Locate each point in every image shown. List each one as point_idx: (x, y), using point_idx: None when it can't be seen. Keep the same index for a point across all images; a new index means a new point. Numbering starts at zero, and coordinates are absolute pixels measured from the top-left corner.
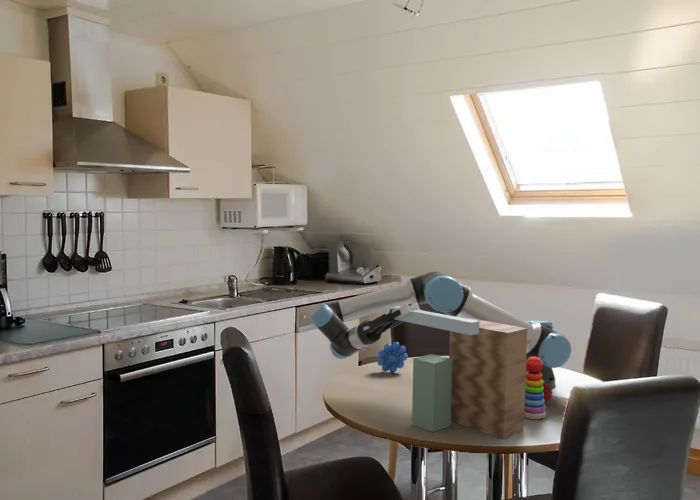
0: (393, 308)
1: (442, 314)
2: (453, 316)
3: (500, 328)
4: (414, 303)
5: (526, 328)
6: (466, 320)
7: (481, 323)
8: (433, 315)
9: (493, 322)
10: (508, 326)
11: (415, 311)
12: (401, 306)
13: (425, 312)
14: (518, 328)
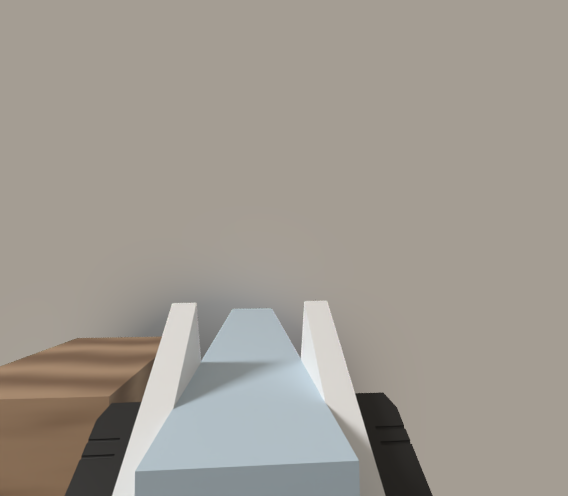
0: (347, 455)
1: (225, 327)
2: (229, 319)
3: (125, 345)
4: (195, 317)
5: (81, 338)
6: (256, 311)
7: (62, 366)
8: (282, 328)
9: (13, 363)
10: (75, 347)
11: (281, 352)
12: (339, 345)
13: (252, 340)
14: (93, 340)
